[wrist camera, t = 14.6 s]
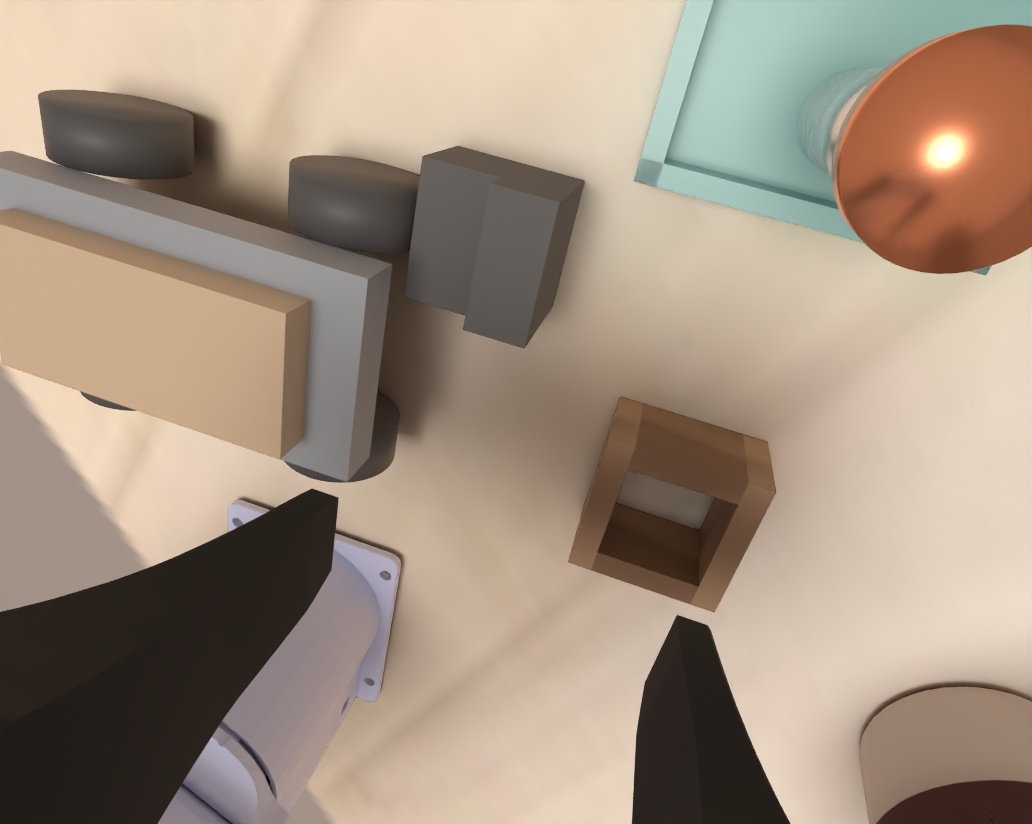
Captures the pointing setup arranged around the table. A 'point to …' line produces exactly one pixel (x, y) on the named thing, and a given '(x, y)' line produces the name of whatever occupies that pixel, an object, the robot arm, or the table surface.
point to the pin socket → (660, 543)
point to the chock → (490, 240)
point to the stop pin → (932, 149)
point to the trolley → (203, 287)
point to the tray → (779, 93)
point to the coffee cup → (949, 759)
